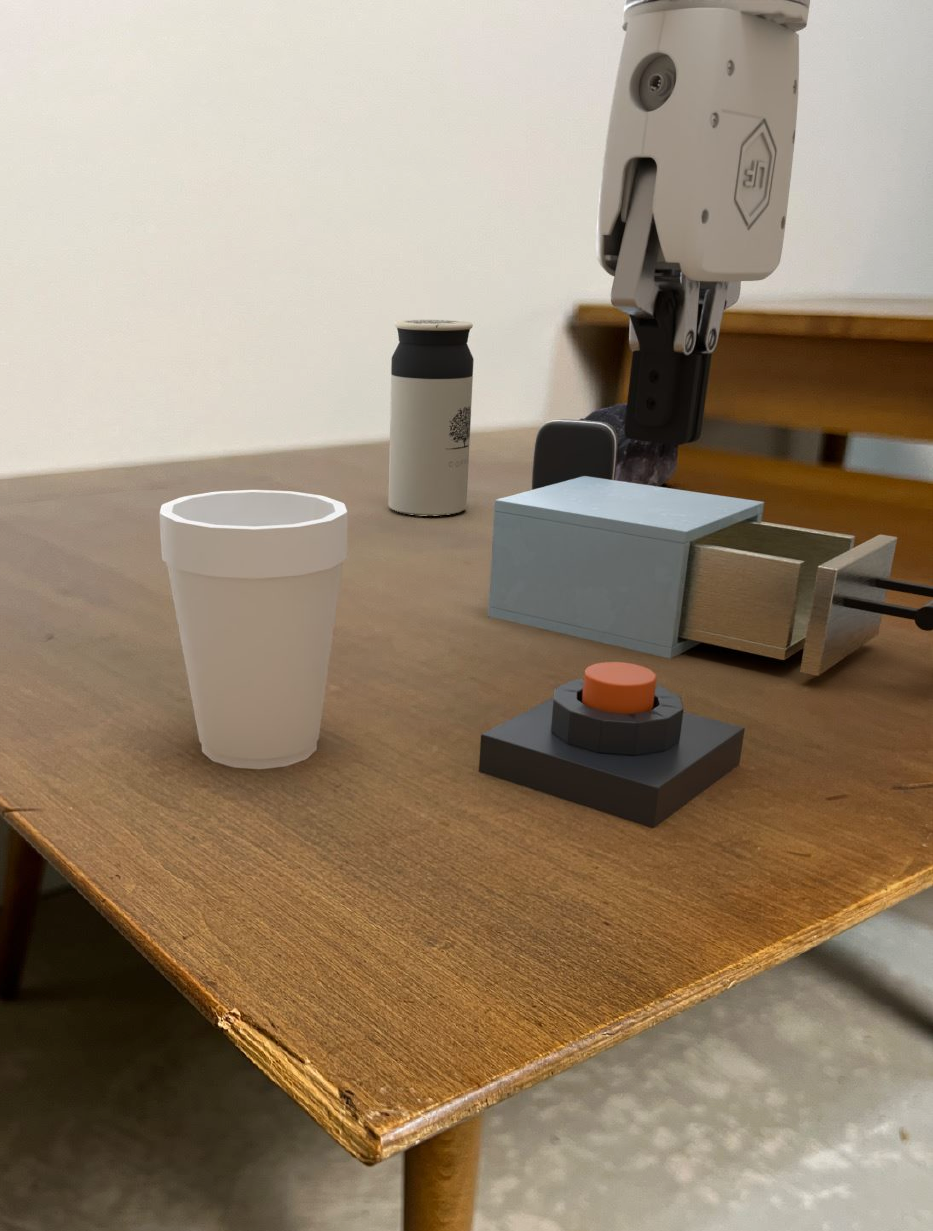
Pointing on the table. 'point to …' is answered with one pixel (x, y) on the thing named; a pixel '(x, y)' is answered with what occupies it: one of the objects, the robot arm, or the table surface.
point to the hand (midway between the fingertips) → (661, 439)
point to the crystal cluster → (637, 452)
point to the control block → (613, 754)
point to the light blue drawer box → (603, 559)
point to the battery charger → (574, 451)
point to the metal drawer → (792, 592)
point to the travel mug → (430, 417)
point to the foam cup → (255, 616)
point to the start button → (619, 687)
